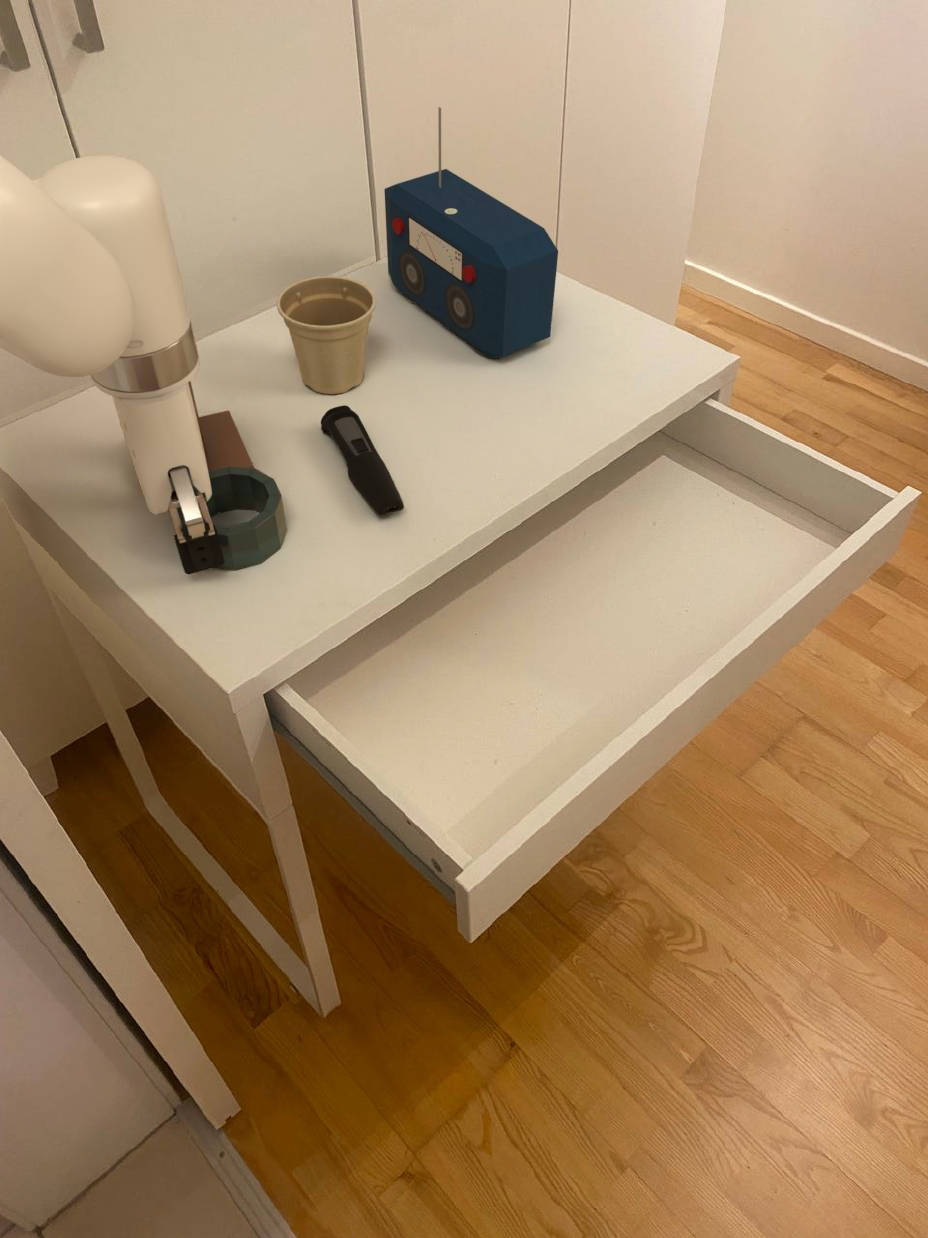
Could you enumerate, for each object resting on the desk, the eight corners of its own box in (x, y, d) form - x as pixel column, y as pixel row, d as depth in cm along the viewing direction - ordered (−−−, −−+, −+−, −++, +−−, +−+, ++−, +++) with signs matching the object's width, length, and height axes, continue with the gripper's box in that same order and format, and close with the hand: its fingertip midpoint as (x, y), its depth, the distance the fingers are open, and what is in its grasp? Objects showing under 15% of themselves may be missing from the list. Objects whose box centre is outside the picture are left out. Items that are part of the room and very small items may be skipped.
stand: (156, 504, 84) (120, 383, 75) (136, 444, 90) (101, 325, 80) (256, 479, 87) (233, 359, 77) (231, 422, 92) (207, 304, 83)
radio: (378, 286, 110) (368, 99, 95) (440, 264, 113) (440, 81, 98) (490, 372, 99) (499, 176, 84) (555, 345, 102) (574, 152, 87)
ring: (198, 580, 78) (188, 545, 75) (176, 516, 83) (166, 480, 80) (297, 553, 81) (292, 518, 78) (270, 492, 86) (264, 457, 83)
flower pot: (362, 344, 102) (356, 267, 95) (393, 392, 96) (390, 314, 90) (276, 362, 99) (264, 285, 93) (303, 413, 93) (292, 335, 87)
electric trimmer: (373, 533, 83) (371, 506, 80) (318, 429, 92) (315, 401, 89) (413, 522, 84) (413, 495, 81) (355, 420, 93) (353, 392, 90)
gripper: (67, 299, 71) (126, 477, 84) (107, 434, 61) (167, 614, 73) (169, 279, 73) (211, 456, 86) (224, 407, 63) (263, 586, 76)
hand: (191, 528), depth 80 cm, fingers open, 9 cm apart
